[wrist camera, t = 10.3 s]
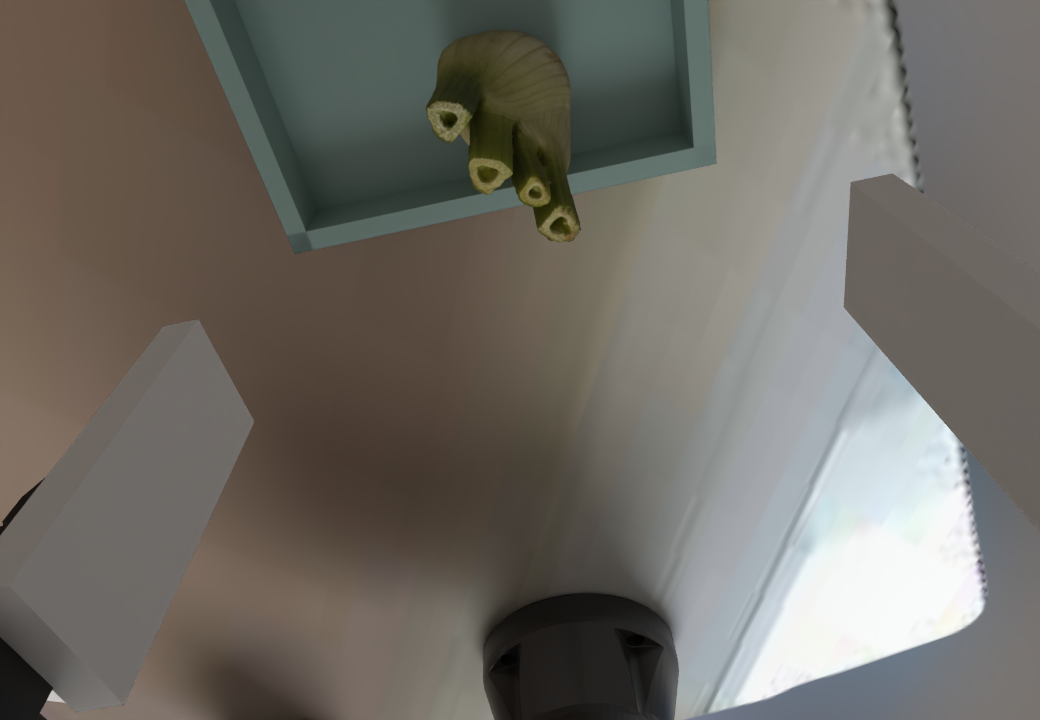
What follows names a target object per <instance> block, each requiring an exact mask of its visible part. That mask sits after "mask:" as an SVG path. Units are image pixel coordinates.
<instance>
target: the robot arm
mask: <svg viewBox="0 0 1040 720" xmlns="http://www.w3.org/2000/svg"><path fill="white" fill-rule="evenodd" d="M844 308H845V309H846V310H847V311H848V313H849V314H850V315H851V316H852V317H853V318H854V319H855V321H856V322H857V323H858V324H859V325H860V326H861V328H862V329H863V330H864V331H865V332H866V333H867V334H868V336H869V337H870V338H871V339H872V340H873V341H874V342H875V344H876V345H877V346H878V347H879V348H880V349H881V350H882V352H883V353H884V354H885V355H886V356H887V357H888V358H889V360H890V361H891V362H892V363H893V364H894V365H895V367H896V368H897V369H898V370H899V371H900V372H901V373H902V375H903V376H904V377H905V378H906V379H907V380H908V381H909V383H910V384H911V385H912V386H913V387H914V388H915V389H916V391H917V392H918V393H919V394H920V395H921V396H922V398H923V399H924V400H925V401H926V402H927V403H928V404H929V406H930V407H931V408H932V409H933V410H934V411H935V412H936V414H937V415H938V416H939V417H940V418H941V419H942V420H943V422H944V423H945V424H946V425H947V426H948V427H949V429H950V430H951V431H952V432H953V433H954V434H955V435H956V437H957V438H958V439H959V440H960V441H961V442H962V443H963V445H964V446H965V447H966V448H967V449H968V450H969V451H970V453H971V454H972V455H973V456H974V457H975V458H976V459H977V461H978V462H979V463H980V464H981V465H982V466H983V468H984V469H985V470H986V471H987V472H988V473H989V474H990V475H991V477H992V478H993V479H994V480H995V481H996V482H997V484H998V485H999V486H1000V487H1001V488H1002V489H1003V491H1004V492H1005V493H1006V494H1007V495H1008V496H1009V497H1010V499H1011V500H1012V501H1013V502H1014V503H1015V504H1016V505H1017V507H1018V508H1019V509H1020V510H1021V511H1022V512H1023V513H1024V515H1025V516H1026V517H1027V518H1028V519H1029V520H1030V521H1031V523H1032V524H1033V525H1034V526H1035V527H1036V528H1037V530H1038V531H1039V532H1040V273H1039V272H1038V271H1036V270H1035V269H1034V268H1032V267H1031V266H1029V265H1027V264H1026V263H1025V262H1023V261H1021V260H1020V259H1018V258H1017V257H1016V256H1014V255H1013V254H1011V253H1010V252H1008V251H1007V250H1005V249H1004V248H1002V247H1001V246H999V245H998V244H996V243H995V242H993V241H992V240H990V239H989V238H987V237H986V236H985V235H983V234H982V233H980V232H979V231H977V230H976V229H974V228H972V227H971V226H970V225H968V224H967V223H965V222H964V221H962V220H961V219H959V218H958V217H956V216H955V215H953V214H952V213H950V212H949V211H947V210H946V209H944V208H943V207H941V206H940V205H939V204H937V203H935V202H934V201H933V200H931V199H929V198H928V197H927V196H925V195H924V194H922V193H921V192H919V191H918V190H916V189H915V188H913V187H912V186H910V185H909V184H907V183H906V182H904V181H903V180H901V179H900V178H898V177H897V176H895V175H894V174H888V175H883V176H878V177H873V178H869V179H864V180H859V181H854V182H851V188H850V206H849V224H848V242H847V260H846V277H845V295H844ZM253 424H254V420H253V418H252V417H251V415H250V413H249V411H248V409H247V407H246V406H245V404H244V402H243V400H242V398H241V396H240V395H239V393H238V391H237V389H236V387H235V385H234V384H233V382H232V380H231V378H230V376H229V374H228V373H227V371H226V369H225V367H224V365H223V363H222V362H221V360H220V358H219V356H218V354H217V353H216V351H215V349H214V347H213V345H212V343H211V342H210V340H209V338H208V336H207V334H206V332H205V331H204V329H203V327H202V325H201V323H200V321H199V320H198V319H196V320H192V321H187V322H182V323H177V324H173V325H168V326H163V328H162V329H161V330H160V331H159V333H158V334H157V335H156V337H155V338H154V339H153V340H152V342H151V343H150V344H149V346H148V347H147V348H146V349H145V351H144V352H143V353H142V355H141V356H140V357H139V358H138V360H137V361H136V362H135V363H134V365H133V366H132V367H131V369H130V370H129V371H128V372H127V374H126V375H125V376H124V378H123V379H122V380H121V381H120V383H119V384H118V385H117V387H116V388H115V389H114V390H113V392H112V393H111V394H110V396H109V397H108V398H107V399H106V401H105V402H104V403H103V405H102V406H101V407H100V408H99V410H98V411H97V412H96V413H95V415H94V416H93V417H92V419H91V420H90V421H89V422H88V424H87V425H86V426H85V428H84V429H83V430H82V431H81V433H80V434H79V435H78V437H77V438H76V439H75V440H74V442H73V443H72V444H71V446H70V447H69V448H68V449H67V451H66V452H65V453H64V454H63V456H62V457H61V458H60V460H59V461H58V462H57V463H56V465H55V466H54V467H53V469H52V470H51V471H50V472H49V474H48V475H47V476H46V477H45V478H44V479H43V480H42V481H41V482H39V483H38V484H37V485H36V486H35V487H33V488H32V489H31V490H30V491H29V492H27V493H26V494H25V495H24V496H23V497H22V498H21V499H20V500H19V501H18V503H17V504H16V505H15V506H14V508H13V509H12V510H11V511H10V513H9V514H8V515H7V516H6V518H5V519H4V520H3V521H2V523H3V526H0V720H47V719H46V718H45V717H43V716H42V715H41V714H40V711H41V709H42V708H43V706H44V704H45V702H46V700H47V699H48V697H49V695H50V693H51V691H52V690H53V691H54V692H55V693H56V694H57V695H58V696H59V697H60V698H61V699H62V700H63V701H64V702H65V703H66V704H67V705H69V706H70V707H71V708H72V709H73V710H74V711H75V712H82V711H88V710H95V709H101V708H107V707H114V706H120V705H124V704H125V701H126V699H127V697H128V695H129V693H130V691H131V688H132V686H133V684H134V682H135V680H136V678H137V675H138V673H139V671H140V669H141V667H142V665H143V662H144V660H145V658H146V656H147V654H148V652H149V649H150V647H151V645H152V643H153V641H154V639H155V636H156V634H157V632H158V630H159V628H160V626H161V623H162V621H163V619H164V617H165V615H166V613H167V610H168V608H169V606H170V604H171V602H172V599H173V597H174V595H175V593H176V591H177V589H178V586H179V584H180V582H181V580H182V578H183V576H184V573H185V571H186V569H187V567H188V565H189V563H190V560H191V558H192V556H193V554H194V552H195V550H196V547H197V545H198V543H199V541H200V539H201V537H202V534H203V532H204V530H205V528H206V526H207V524H208V521H209V519H210V517H211V515H212V513H213V510H214V508H215V506H216V504H217V502H218V500H219V497H220V495H221V493H222V491H223V489H224V487H225V484H226V482H227V480H228V478H229V476H230V474H231V471H232V469H233V467H234V465H235V463H236V461H237V458H238V456H239V454H240V452H241V450H242V448H243V445H244V443H245V441H246V439H247V437H248V435H249V432H250V430H251V428H252V426H253ZM678 676H679V667H678V659H677V654H676V650H675V646H674V642H673V637H672V634H671V632H670V630H669V628H668V626H667V625H666V624H665V622H664V621H663V620H662V619H661V618H660V617H659V616H658V615H656V614H655V613H654V612H652V611H651V610H649V609H647V608H646V607H644V606H642V605H640V604H637V603H635V602H632V601H629V600H625V599H622V598H617V597H611V596H604V595H570V596H563V597H557V598H552V599H548V600H544V601H541V602H538V603H535V604H532V605H530V606H527V607H525V608H523V609H521V610H519V611H517V612H515V613H514V614H512V615H511V616H509V617H508V618H506V619H505V620H504V621H502V622H501V623H500V624H499V625H498V626H497V627H496V628H495V629H494V631H493V632H492V633H491V635H490V636H489V638H488V640H487V642H486V644H485V648H484V655H483V682H484V688H485V692H486V695H487V698H488V701H489V704H490V708H491V711H492V714H493V717H494V720H674V716H675V706H676V696H677V686H678Z"/></svg>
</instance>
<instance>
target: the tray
mask: <svg viewBox="0 0 1040 720" xmlns="http://www.w3.org/2000/svg"><path fill="white" fill-rule="evenodd" d="M184 1H185V3H186V5H187V7H188V10H189V12H190V14H191V17H192V19H193V21H194V24H195V26H196V28H197V30H198V33H199V35H200V37H201V40H202V42H203V44H204V46H205V49H206V51H207V53H208V56H209V58H210V60H211V63H212V65H213V67H214V69H215V72H216V74H217V76H218V79H219V81H220V83H221V86H222V88H223V90H224V92H225V95H226V97H227V99H228V102H229V104H230V106H231V108H232V111H233V113H234V115H235V118H236V120H237V122H238V125H239V127H240V129H241V131H242V134H243V136H244V138H245V141H246V143H247V145H248V148H249V150H250V152H251V154H252V157H253V159H254V161H255V164H256V166H257V168H258V170H259V173H260V175H261V177H262V180H263V182H264V184H265V187H266V189H267V191H268V193H269V196H270V198H271V200H272V203H273V205H274V207H275V210H276V212H277V214H278V216H279V219H280V221H281V223H282V226H283V228H284V230H285V232H286V235H287V237H288V239H289V242H290V244H291V246H292V249H293V251H294V253H295V254H297V253H301V252H306V251H311V250H315V249H320V248H325V247H329V246H334V245H339V244H343V243H348V242H353V241H357V240H362V239H367V238H371V237H376V236H381V235H385V234H390V233H395V232H399V231H404V230H409V229H413V228H418V227H423V226H428V225H432V224H437V223H442V222H446V221H451V220H456V219H460V218H465V217H470V216H474V215H479V214H484V213H488V212H493V211H498V210H502V209H507V208H512V207H516V206H521V205H525V204H523V203H522V202H521V201H520V200H519V199H518V195H517V194H516V189H515V187H514V185H513V183H512V178H511V176H510V177H509V178H508V179H505V180H504V182H503V183H502V184H501V186H499V187H497V188H496V189H495V190H494V191H493V193H492V194H489V195H486V194H483V193H481V192H479V191H478V190H476V189H475V188H474V187H473V185H472V180H471V177H470V174H469V168H468V158H469V156H468V148H469V145H468V144H467V143H466V142H465V140H464V139H463V138H462V136H461V135H460V134H459V135H458V137H457V138H456V139H455V140H454V141H453V142H452V143H445V142H443V141H442V140H440V139H439V138H438V137H437V136H436V135H435V134H434V133H433V130H432V126H431V122H430V120H429V119H428V117H427V112H426V106H427V103H428V102H429V100H430V99H431V97H432V95H433V92H434V90H435V88H436V80H437V66H438V65H437V64H438V60H439V58H440V55H441V53H442V51H443V50H444V49H445V48H446V47H447V46H448V45H449V44H451V43H452V42H454V41H455V40H457V39H459V38H462V37H466V36H470V35H474V34H478V33H483V32H488V31H493V30H494V31H497V30H504V31H520V32H524V33H526V34H529V35H531V36H533V37H536V38H538V39H540V40H541V41H543V42H544V43H545V44H546V45H547V46H548V47H549V48H551V49H552V50H553V51H554V52H555V53H556V54H557V55H558V56H559V58H560V59H561V61H562V63H563V65H564V67H565V69H566V71H567V74H568V77H569V79H570V86H571V102H570V126H571V136H570V149H571V151H570V152H571V156H570V164H569V167H568V169H567V179H568V184H569V187H570V192H571V195H572V194H577V193H582V192H586V191H591V190H596V189H601V188H605V187H610V186H615V185H619V184H624V183H629V182H633V181H638V180H643V179H647V178H652V177H657V176H661V175H666V174H671V173H675V172H680V171H685V170H689V169H694V168H699V167H703V166H708V165H713V164H717V163H716V144H715V125H714V105H713V86H712V66H711V47H710V28H709V8H708V0H184Z"/></svg>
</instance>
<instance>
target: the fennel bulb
mask: <svg viewBox="0 0 1040 720" xmlns="http://www.w3.org/2000/svg"><path fill="white" fill-rule="evenodd" d="M437 65H438V66H437V80H436V88H435V90H434V92H433V95H432V97H431V99H430V100H429V102H428V103H427V106H426V112H427V117H428V119H429V120H430V122H431V126H432V130H433V133H434V134H435V135H436V136H437V137H438V138H439V139H440V140H442V141H443V142H445V143H452V142H453V141H454V140H455V139H456V138H457V137H458V135H459V134H460V135H461V136H462V138H463V139H464V140H465V142H466V143H467V144H468V145H469V148H468V156H469V158H468V168H469V174H470V177H471V180H472V185H473V187H474V188H475V189H476V190H478V191H479V192H481V193H483V194H486V195H489V194H492V193H493V191H494V190H495V189H496V188H497V187H499V186H501V184H502V183H503V182H504V180H505V179H508V178H509V177H510V176H511V178H512V183H513V185H514V187H515V189H516V194H517V195H518V199H519V200H520V201H521V202H522V203H523V204H525V205H528V206H531V207H533V210H534V214H535V219H536V225H537V229H538V231H539V232H540V233H541V234H542V235H544V236H546V237H547V239H548V240H550V241H556V242H562V241H566V242H570V241H573V240H574V238H575V236H576V235H577V234H578V232H579V231H580V230H581V228H580V221H579V218H578V215H577V212H576V209H575V205H574V201H573V198H572V195H571V192H570V187H569V184H568V179H567V169H568V167H569V164H570V156H571V152H570V151H571V149H570V136H571V126H570V102H571V86H570V79H569V77H568V74H567V71H566V69H565V67H564V65H563V63H562V61H561V59H560V58H559V56H558V55H557V54H556V53H555V52H554V51H553V50H552V49H551V48H549V47H548V46H547V45H546V44H545V43H544V42H543V41H541V40H540V39H538V38H536V37H533V36H531V35H529V34H526V33H524V32H520V31H504V30H497V31H494V30H493V31H488V32H483V33H478V34H474V35H470V36H466V37H462V38H459V39H457V40H455V41H454V42H452V43H451V44H449V45H448V46H447V47H446V48H445V49H444V50H443V51H442V53H441V55H440V58H439V60H438V64H437Z"/></svg>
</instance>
